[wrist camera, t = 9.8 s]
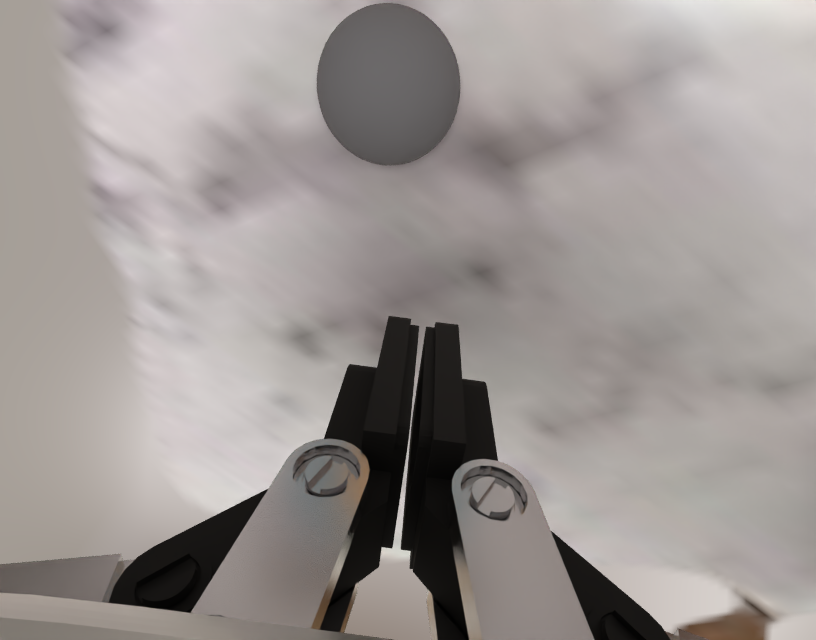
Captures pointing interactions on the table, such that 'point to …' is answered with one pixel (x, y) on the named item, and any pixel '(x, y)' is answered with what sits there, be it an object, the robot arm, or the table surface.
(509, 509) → the robot arm
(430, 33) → the grey ball
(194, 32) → the table surface
